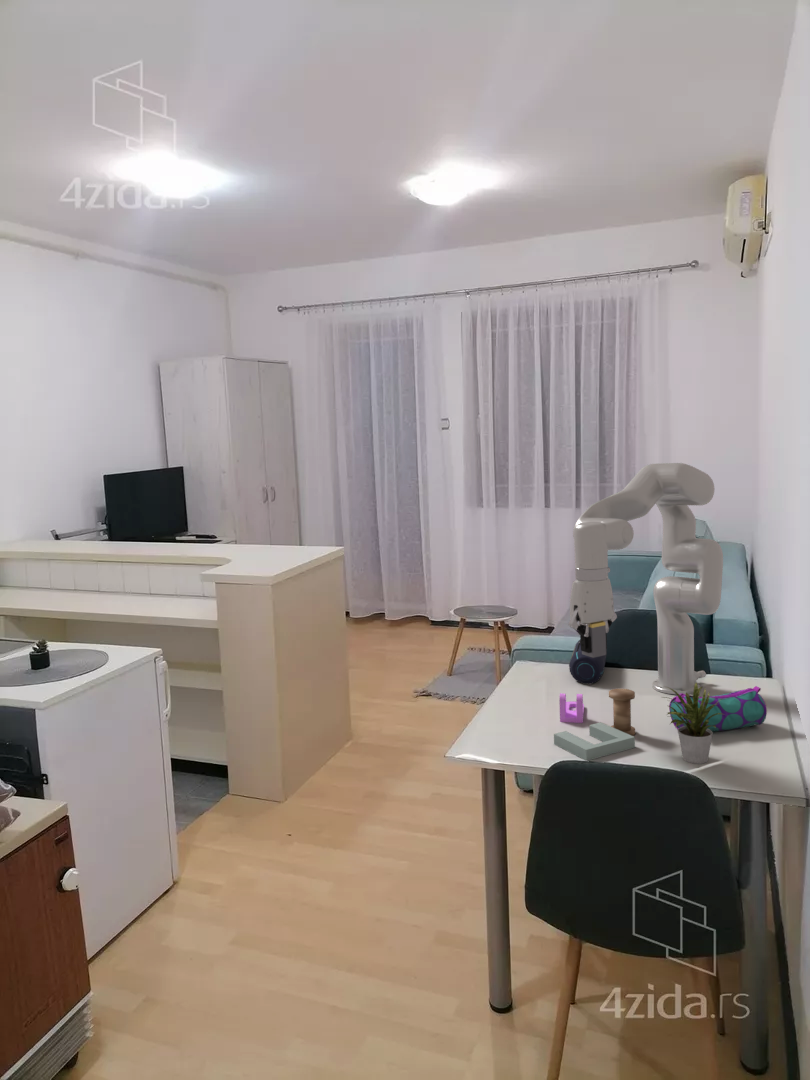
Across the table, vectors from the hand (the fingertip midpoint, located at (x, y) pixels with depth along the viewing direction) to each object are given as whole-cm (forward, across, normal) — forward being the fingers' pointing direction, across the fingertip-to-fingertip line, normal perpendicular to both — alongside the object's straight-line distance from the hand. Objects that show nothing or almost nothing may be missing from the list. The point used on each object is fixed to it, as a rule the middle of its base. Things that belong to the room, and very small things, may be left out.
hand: (593, 649), depth 182 cm
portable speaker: (+22, -30, -37) cm, 52 cm away
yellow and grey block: (+1, 0, 0) cm, 1 cm away
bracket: (+21, -4, -13) cm, 25 cm away
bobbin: (+21, -5, +4) cm, 21 cm away
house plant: (+21, -7, +23) cm, 32 cm away
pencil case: (+21, -25, +14) cm, 36 cm away
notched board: (+20, +6, +6) cm, 22 cm away
